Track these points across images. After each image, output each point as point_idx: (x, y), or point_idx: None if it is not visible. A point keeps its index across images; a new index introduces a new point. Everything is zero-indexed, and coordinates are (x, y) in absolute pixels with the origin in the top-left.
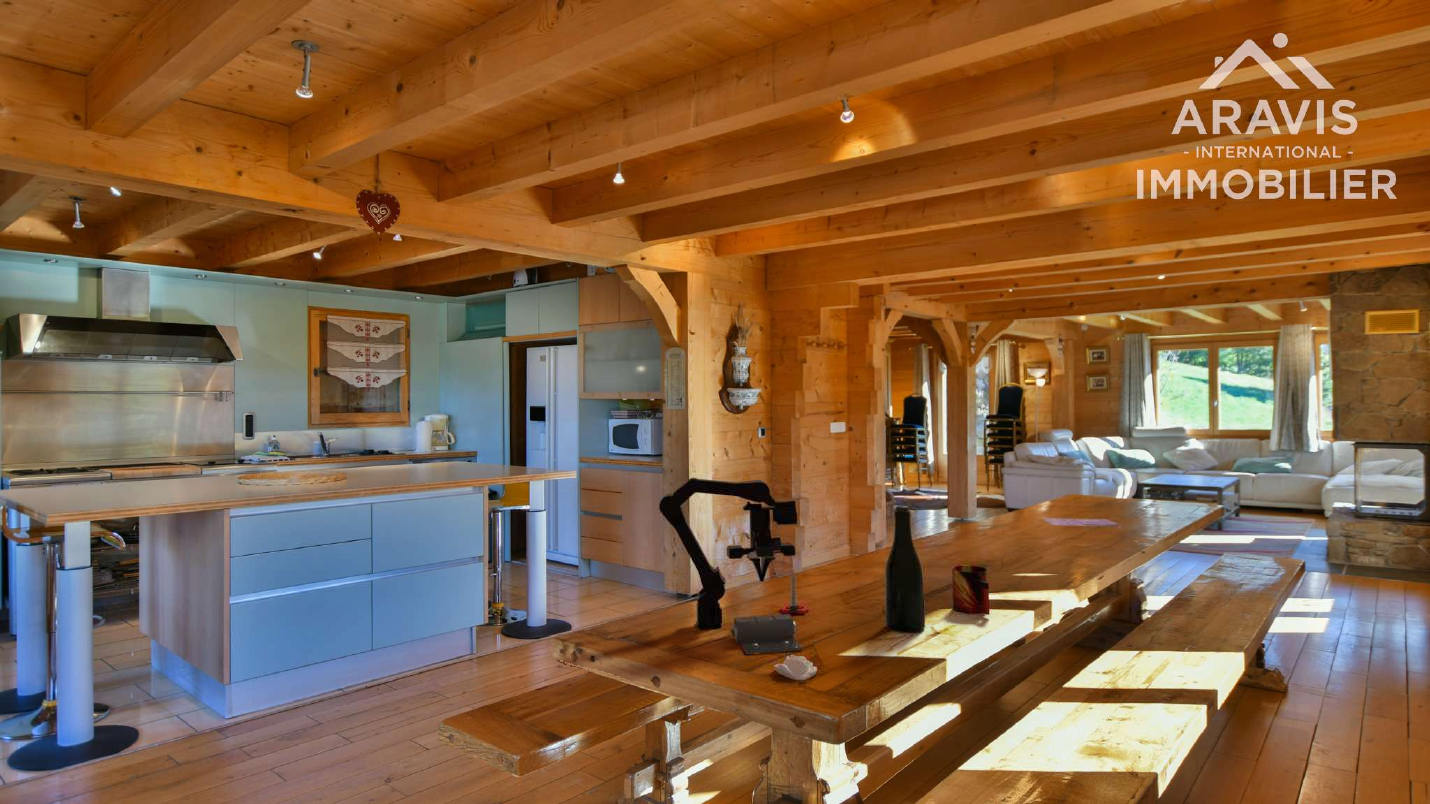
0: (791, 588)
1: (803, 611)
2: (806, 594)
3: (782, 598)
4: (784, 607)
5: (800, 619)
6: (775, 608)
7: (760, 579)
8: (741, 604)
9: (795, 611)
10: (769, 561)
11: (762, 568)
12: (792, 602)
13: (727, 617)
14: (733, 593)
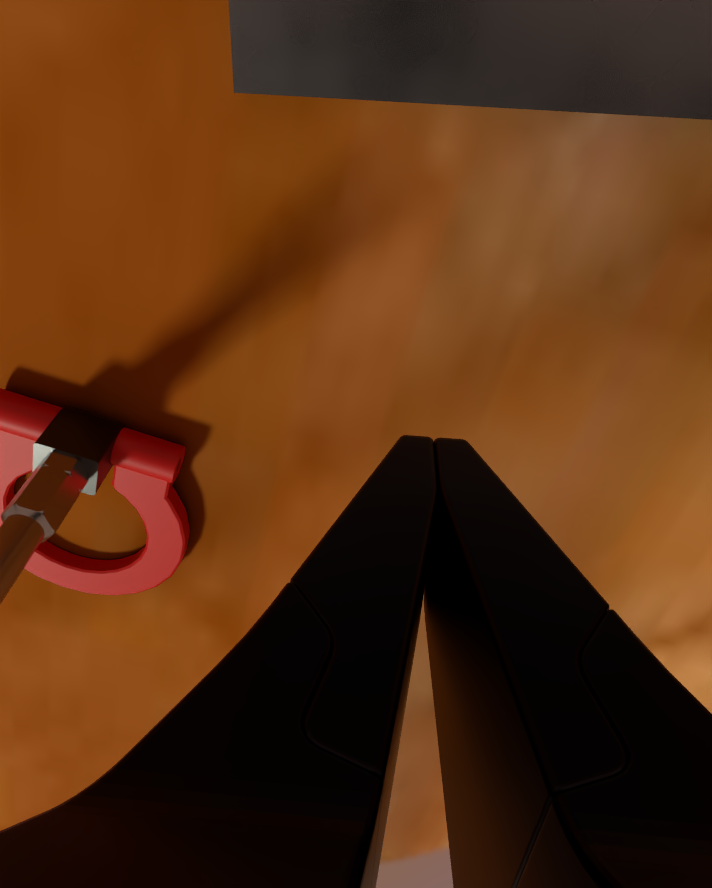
0: (5, 592)
1: (1, 402)
2: (4, 744)
3: (148, 725)
4: (153, 543)
5: (43, 270)
6: (219, 582)
7: (472, 460)
8: (421, 701)
9: (70, 419)
10: (41, 867)
11: (404, 698)
12: (61, 477)
13: (637, 492)
14: (401, 843)
